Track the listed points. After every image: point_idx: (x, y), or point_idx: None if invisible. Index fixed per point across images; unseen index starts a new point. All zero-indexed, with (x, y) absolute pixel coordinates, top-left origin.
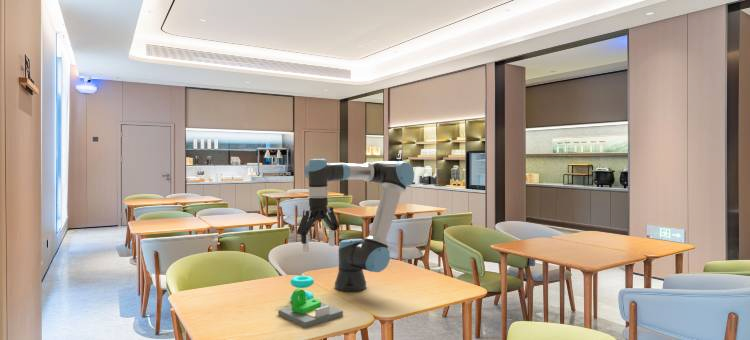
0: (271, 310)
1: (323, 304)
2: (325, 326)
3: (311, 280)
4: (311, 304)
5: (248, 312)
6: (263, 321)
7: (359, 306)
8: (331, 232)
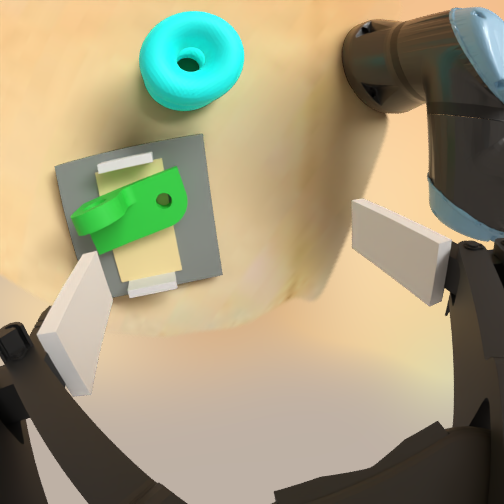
0: (57, 115)
1: (202, 192)
2: (142, 310)
3: (216, 94)
4: (140, 229)
5: (3, 104)
6: (12, 197)
7: (302, 225)
8: (419, 276)
